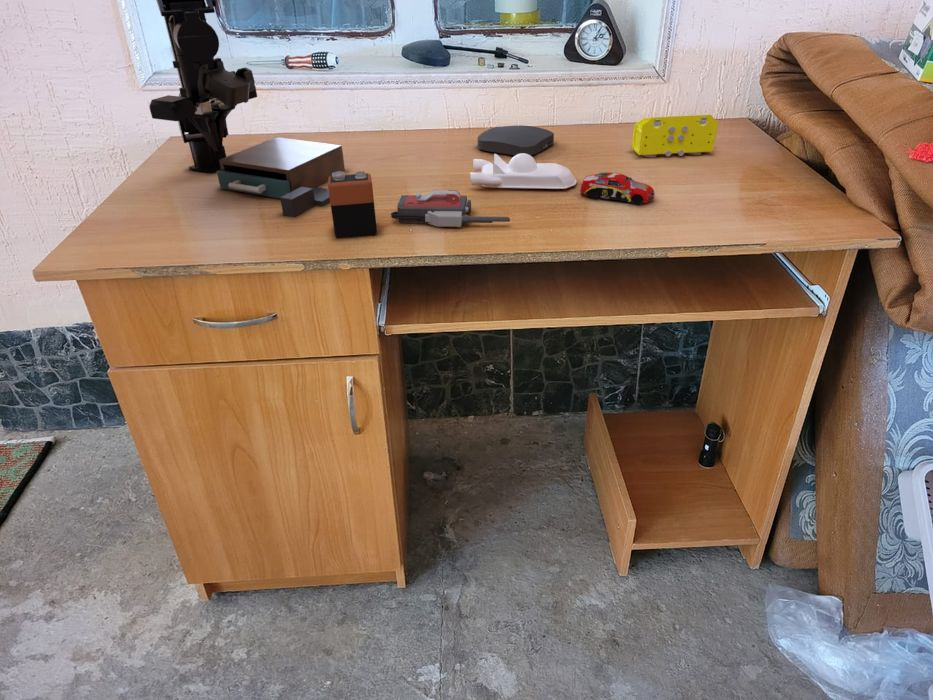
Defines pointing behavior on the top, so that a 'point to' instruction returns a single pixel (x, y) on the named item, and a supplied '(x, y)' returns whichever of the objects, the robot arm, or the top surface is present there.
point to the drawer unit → (289, 161)
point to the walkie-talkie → (439, 210)
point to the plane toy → (521, 174)
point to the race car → (616, 188)
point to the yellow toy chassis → (674, 135)
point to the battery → (352, 204)
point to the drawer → (253, 183)
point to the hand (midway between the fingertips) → (217, 150)
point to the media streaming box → (515, 139)
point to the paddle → (303, 200)
